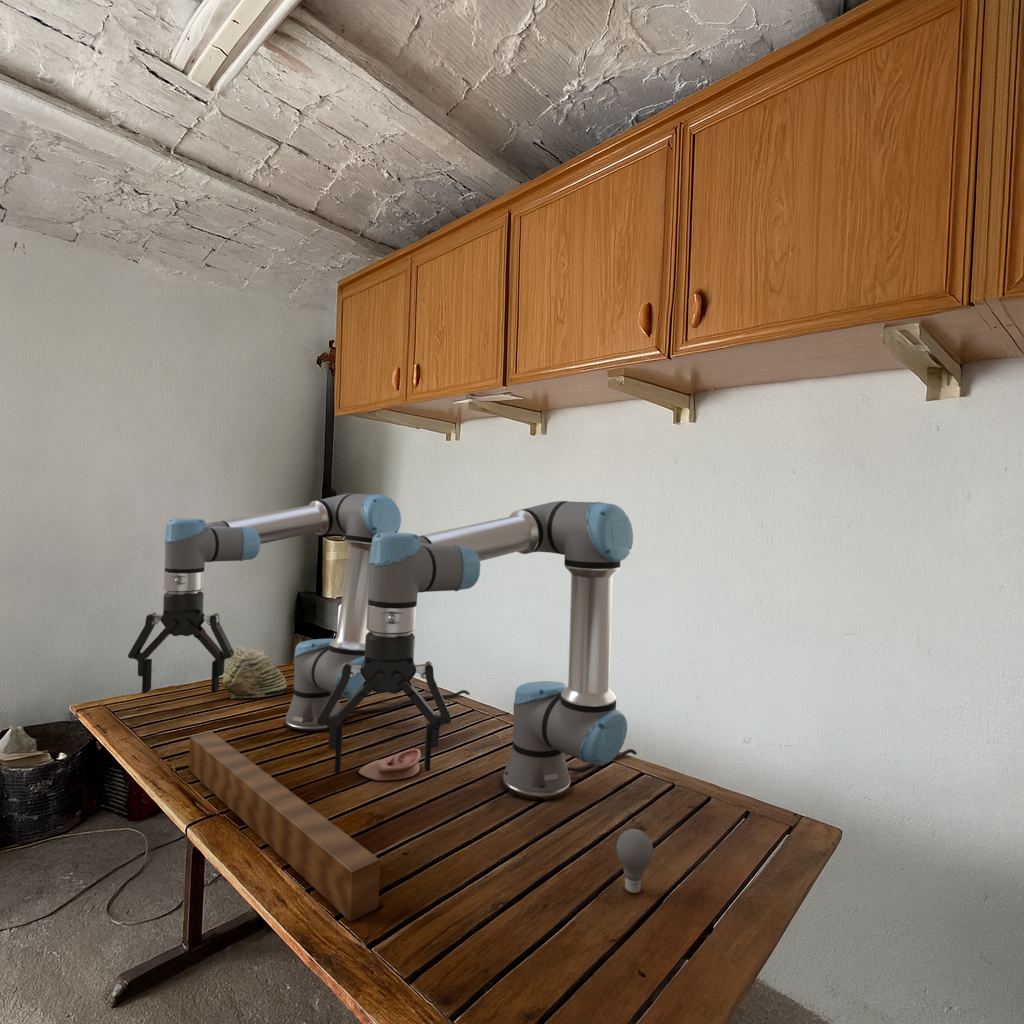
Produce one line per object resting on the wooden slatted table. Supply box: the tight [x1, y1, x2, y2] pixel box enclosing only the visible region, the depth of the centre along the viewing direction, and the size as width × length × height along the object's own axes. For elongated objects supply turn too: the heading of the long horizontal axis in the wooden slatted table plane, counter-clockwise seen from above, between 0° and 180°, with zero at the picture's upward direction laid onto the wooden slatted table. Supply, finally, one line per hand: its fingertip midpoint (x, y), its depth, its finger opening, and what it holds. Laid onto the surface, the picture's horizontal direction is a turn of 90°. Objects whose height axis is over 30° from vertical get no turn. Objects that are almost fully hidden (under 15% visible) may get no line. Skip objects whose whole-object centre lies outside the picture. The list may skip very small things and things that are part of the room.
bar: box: [188, 731, 381, 923], centre depth 121 cm, size 69×5×8 cm, turn 45°
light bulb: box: [615, 828, 654, 894], centre depth 106 cm, size 6×6×10 cm
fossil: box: [222, 646, 288, 699], centre depth 198 cm, size 9×18×15 cm, turn 132°
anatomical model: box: [358, 748, 422, 782], centre depth 147 cm, size 13×4×12 cm
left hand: (181, 691), depth 134 cm, fingers open, 13 cm apart
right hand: (382, 768), depth 98 cm, fingers open, 13 cm apart
